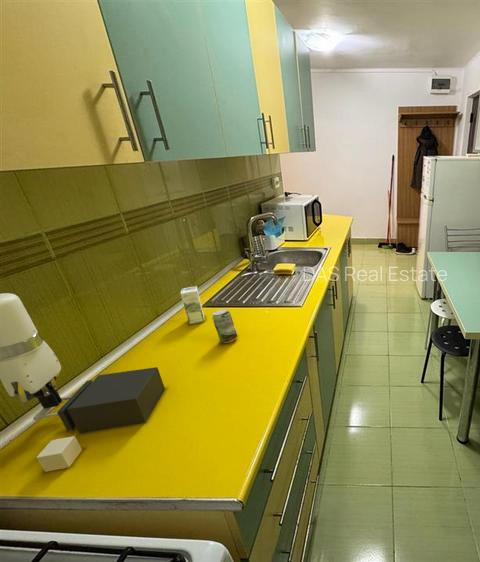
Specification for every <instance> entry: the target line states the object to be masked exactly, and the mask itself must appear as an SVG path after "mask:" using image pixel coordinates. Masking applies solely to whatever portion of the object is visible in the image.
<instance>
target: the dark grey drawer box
mask: <svg viewBox="0 0 480 562" xmlns="http://www.w3.org/2000/svg"><path fill="white" fill-rule="evenodd" d="M160 373H161V372H160V370H159V368H158V366H155V367H148V368H141V369H133V370H126V371H120V372H119V371H118V372H111V373H104V374H99V375H97V377H96V378H94V379H93V380H92V381H93V382H92V383H91V384H90V385H89V386H88V387H87V388H86V389H85V390H84V391H83V393H82V394H81V395H80V396H79V397H78V398H77V399H76V400H75V401H74V402H73V403H72V404H71V406H70V407H69V408H68V409H67V410H68V411H69V414H70V416H71V417H72V419H73V421H74V423H75V425H76V427H75V428H76V429H77V431H78V433H79V434H80V435H82V434H86V433H93V432H98V431H104V430H110V429H116V428H122V427H128V426H133V425H139V424H144V423H145V424H146V423H147V422H148V419H149V418H150V416H151V415H152V413H153V412H154V409H155V407H156V406H157V404H158V402H159V401H160V399H161V397H162V395H163V394H164V392H165V390H166V388H165V385H164V382H163V379H162V376H161V374H160Z"/></svg>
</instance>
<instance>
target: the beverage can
mask: <svg viewBox="0 0 480 562" xmlns="http://www.w3.org/2000/svg"><path fill="white" fill-rule="evenodd" d="M211 319H212V323H213V324H214V327H215V330H216V333H217V336H218V338H219V339H218V340H219V342H220V343H224V344H227V343H231V342H233V341H235V340H236V338H237V337H238V333H237V329H236V327H235V323H234V321H233V317H232V314H231V312H230V311H229V310H228V309H227V308H224V309H223V308H222V309H219V310H216V311H214V312H213V313H212V317H211Z"/></svg>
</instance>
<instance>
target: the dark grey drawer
mask: <svg viewBox="0 0 480 562" xmlns="http://www.w3.org/2000/svg"><path fill="white" fill-rule="evenodd" d="M93 381H94V380H92V379H89V380H86V381H85V382H84V383H83V384H81V386H80V387H79V388H78V390H77V391H76V392H75V393H74V394H72V395H69V396H60V397H61V399H62V401H66V400H67V401H66V402H65V403H64V404H63V405H62V406H61V407H60V408H59V409H58V410H57V411H56V412H52V413H48V412H49V411H50V410H51V409H53V407H50V408H43V407H42V408H41V409H40V410H39V411H38V412H37V413H36V414H35V415H34V416H33V417H32V419H33V420H34V421H36V422H38V421H40V420H41V419H46V418H47V419H48V418H52V417H59V418H60V421H61V422H62V424H63V427H64V428H65V430H66V431H67V432H71V431H75V429H76V428H77V427H76V425H75V423H74V421H73V419H72V417H71V416H70V414H69V411H68V410H67V409H68V408H69V407H70V406H71V404H72V403H73V402H74V401H75V400H76V399H77V398H78V397H79V396H80V395H81V394H82V393H83V391H84V390H85V389H86V388H87V387H88V386H89V385H90V384H91V383H92V382H93Z"/></svg>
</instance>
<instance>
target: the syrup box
mask: <svg viewBox="0 0 480 562" xmlns="http://www.w3.org/2000/svg"><path fill="white" fill-rule="evenodd" d="M180 297H181V300H182V304H183V308H184V310H185V314H186V318H187V321H188V325H194V324H200V323H203V322H205V313H204V310H203V305H202V301H201V297H200V294H199V290H198V286H197V285H195V286H189V287H184V288H181V289H180Z"/></svg>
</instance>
